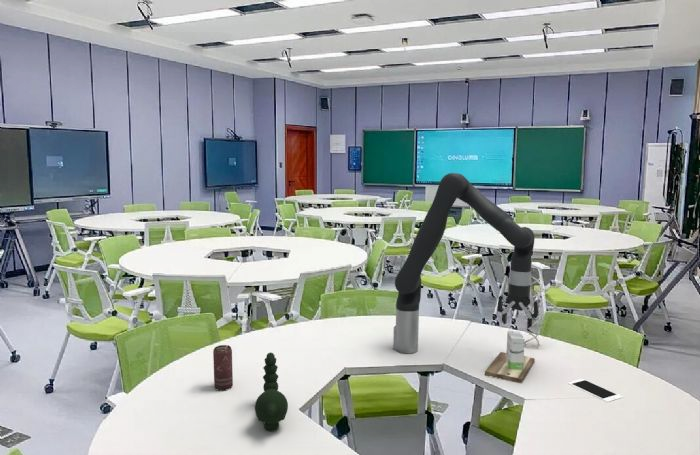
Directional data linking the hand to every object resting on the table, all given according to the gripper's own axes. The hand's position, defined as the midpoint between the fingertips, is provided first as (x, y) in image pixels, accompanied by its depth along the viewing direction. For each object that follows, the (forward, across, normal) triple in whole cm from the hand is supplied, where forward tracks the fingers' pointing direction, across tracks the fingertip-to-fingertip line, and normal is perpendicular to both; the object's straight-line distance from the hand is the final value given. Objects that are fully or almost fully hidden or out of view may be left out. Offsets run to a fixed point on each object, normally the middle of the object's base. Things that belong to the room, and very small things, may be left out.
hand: (516, 325), depth 195 cm
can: (+18, -81, -66) cm, 106 cm away
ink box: (+15, 0, 0) cm, 15 cm away
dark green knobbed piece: (+18, -54, -75) cm, 94 cm away
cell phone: (+17, +28, -3) cm, 33 cm away
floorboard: (+17, -1, 0) cm, 17 cm away
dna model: (+17, +1, +28) cm, 32 cm away
